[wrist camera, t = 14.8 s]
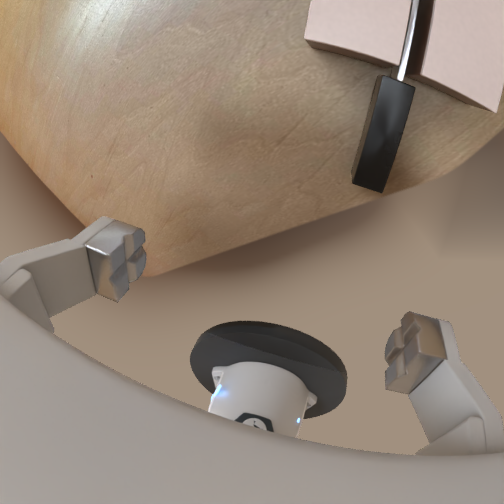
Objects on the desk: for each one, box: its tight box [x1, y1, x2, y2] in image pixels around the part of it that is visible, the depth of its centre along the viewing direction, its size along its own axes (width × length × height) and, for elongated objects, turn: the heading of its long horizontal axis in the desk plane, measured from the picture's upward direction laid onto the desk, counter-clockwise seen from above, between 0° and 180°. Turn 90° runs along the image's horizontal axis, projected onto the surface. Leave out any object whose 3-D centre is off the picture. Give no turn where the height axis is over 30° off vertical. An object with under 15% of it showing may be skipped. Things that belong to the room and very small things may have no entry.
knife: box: [351, 0, 419, 193], centre depth 16 cm, size 22×3×3 cm, turn 171°
